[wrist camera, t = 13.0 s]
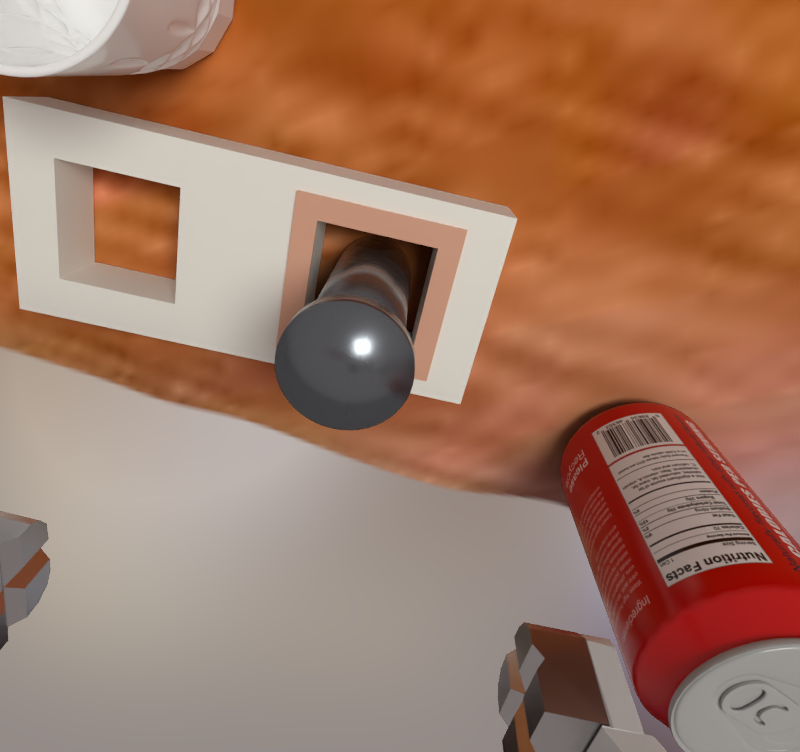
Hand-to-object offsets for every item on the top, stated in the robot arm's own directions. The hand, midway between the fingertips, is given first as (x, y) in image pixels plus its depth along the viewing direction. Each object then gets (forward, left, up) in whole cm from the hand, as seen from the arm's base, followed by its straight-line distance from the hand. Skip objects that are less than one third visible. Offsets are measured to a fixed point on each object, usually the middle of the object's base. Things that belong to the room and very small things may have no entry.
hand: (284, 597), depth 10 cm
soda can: (-16, +7, -20) cm, 27 cm away
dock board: (+5, 0, -20) cm, 21 cm away
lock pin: (0, 0, -20) cm, 20 cm away
